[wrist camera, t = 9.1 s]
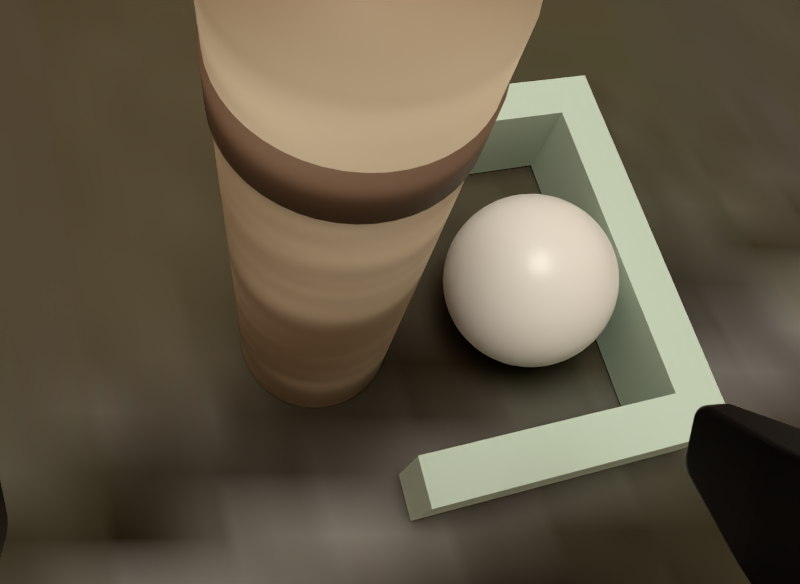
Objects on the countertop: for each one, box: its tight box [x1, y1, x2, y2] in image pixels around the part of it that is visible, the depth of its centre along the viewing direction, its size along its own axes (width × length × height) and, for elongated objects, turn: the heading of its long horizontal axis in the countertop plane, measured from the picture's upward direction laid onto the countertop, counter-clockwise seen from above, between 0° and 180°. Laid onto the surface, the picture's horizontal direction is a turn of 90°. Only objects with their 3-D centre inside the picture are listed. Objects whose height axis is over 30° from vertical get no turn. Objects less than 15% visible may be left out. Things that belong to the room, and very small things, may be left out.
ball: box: [443, 194, 619, 367], centre depth 19 cm, size 5×5×5 cm
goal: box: [399, 75, 725, 521], centre depth 20 cm, size 11×8×3 cm
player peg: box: [194, 0, 543, 408], centre depth 14 cm, size 4×4×13 cm
